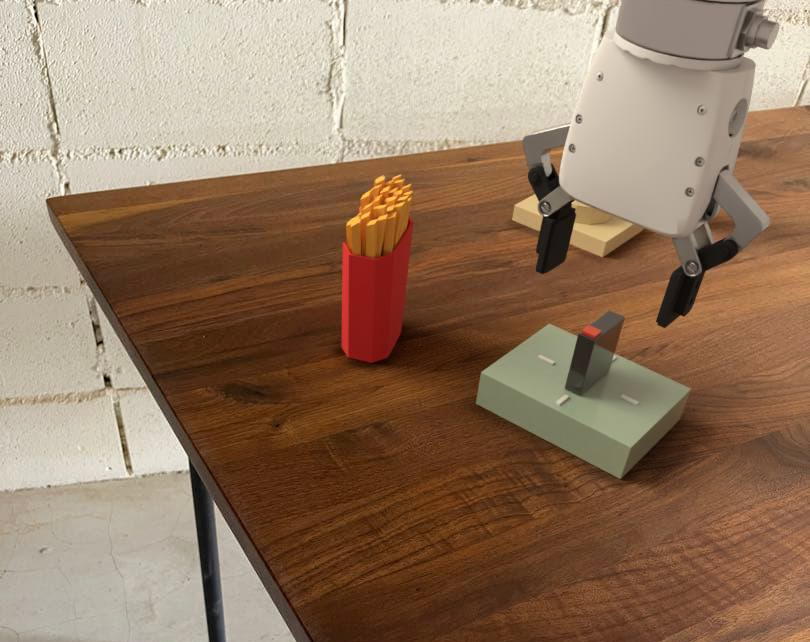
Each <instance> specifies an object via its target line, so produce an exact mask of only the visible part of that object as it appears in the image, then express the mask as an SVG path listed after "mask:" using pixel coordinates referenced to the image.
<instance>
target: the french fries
mask: <svg viewBox="0 0 810 642" xmlns="http://www.w3.org/2000/svg"><path fill="white" fill-rule="evenodd" d="M402 175H403V173H402V174H398V175H396V176H393V177H392V178H391V180H389V181H386V175H385V174H382V175H381V176H379V177H377V178H376V179H375V180H374V181H373V187H372V188H371V189H370V190H369V191H367V192H365V193H364V194H362V195H361V198H360V207H359V208H358V211H359V213H358V214H357V215H356V216H354V217H353V218H350V220H349V221H347V223H346V226H345V232H346V242H342V264H341V265H342V269H341V271H342V275H341V276H342V277H341V279H342V280H341V349H342V351H343V352H344V353H345V355H346V357H347V358H348V359H354V360H357V361H362V362H365V363H371V364H372V363H376V362H379V361H382V360H385V359H387V358H389V356H390V354H391V353H392V351H393V349H394V348H395V346H396V344H397V342H398V340H399V338H400V336H401V333H402V329H403V319H404V310H405V302H406V292H407V283H408V275H409V265H410V258H411V257H410V256H411V248H412V247H411V246H412V239H413V230H414V221H413V220H412V218H411V216H410V211H411V205H412V199H413V193H414V190H412V183H410V184H407V185H406V184H405V182H406V181H405V179H406V178H403V179H402Z"/></svg>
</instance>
